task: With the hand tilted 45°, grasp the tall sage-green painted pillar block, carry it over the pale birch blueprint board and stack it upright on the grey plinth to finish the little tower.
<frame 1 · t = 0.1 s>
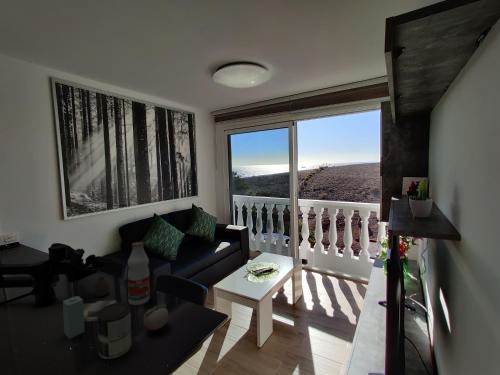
hand: (101, 267, 117), 17 cm above the table, tool horizontal, fingers open, 9 cm apart
coffee can: (115, 348, 89), on the table
pillar: (74, 332, 96), on the table
decorative fruit: (157, 330, 99), on the table
board: (94, 313, 109), on the table
vase: (101, 295, 125), on the table
fruit juice: (139, 300, 120), on the table
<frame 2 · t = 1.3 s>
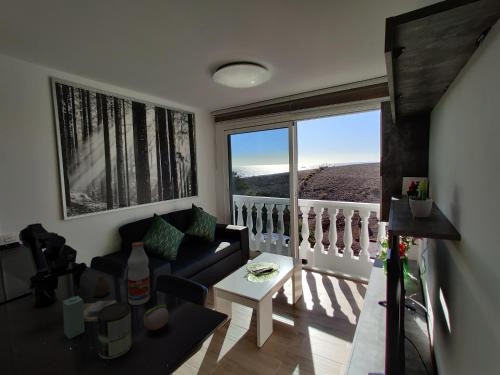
hand: (65, 293, 100), 13 cm above the table, tool tilted 45°, fingers open, 9 cm apart
nothing on the table moved.
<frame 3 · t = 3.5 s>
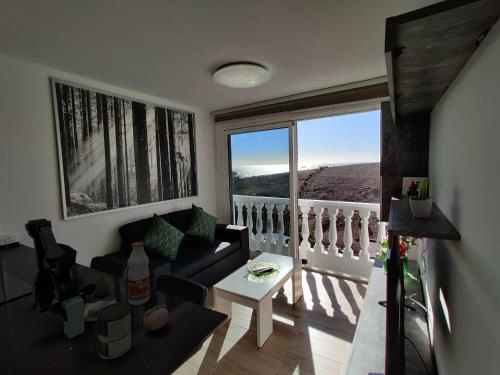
hand: (75, 317, 95), 7 cm above the table, tool tilted 45°, fingers closed on pillar, 5 cm apart
pillar: (74, 332, 96), on the table, touching gripper
everything else where it was.
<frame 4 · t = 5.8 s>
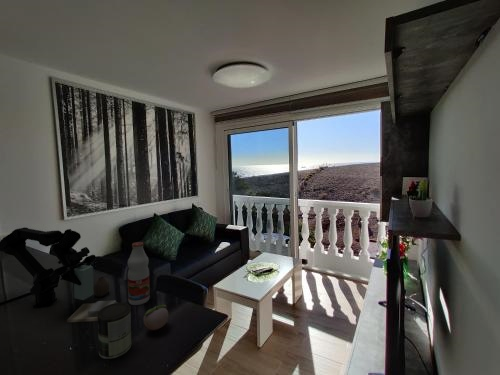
hand: (86, 282, 109), 13 cm above the table, tool tilted 45°, fingers closed on pillar, 5 cm apart
pillar: (84, 296, 110), point 7 cm above the table, touching gripper
everything else where it was.
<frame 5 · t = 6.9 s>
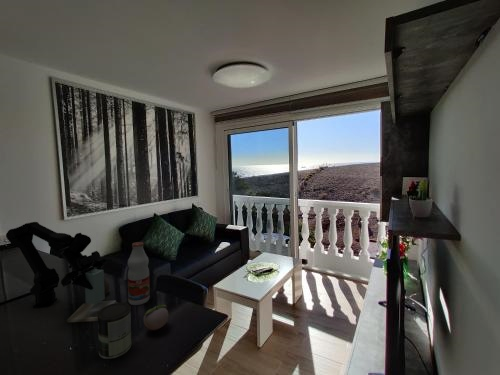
hand: (97, 286, 108), 12 cm above the table, tool tilted 45°, fingers closed on pillar, 5 cm apart
pillar: (95, 300, 109), point 5 cm above the table, touching gripper
everything else where it was.
when the fingers open (11 cm above the table, at t = 8.0 s): pillar stays where it is, resting on board.
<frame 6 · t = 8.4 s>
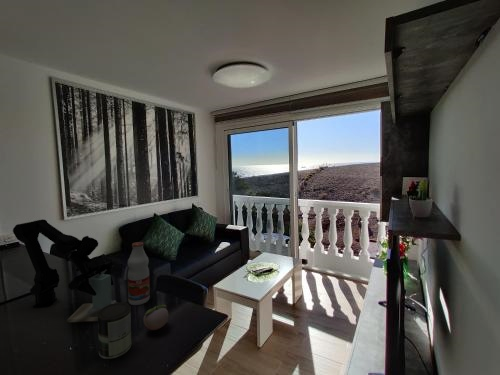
hand: (104, 289, 107), 11 cm above the table, tool tilted 45°, fingers open, 9 cm apart
pillar: (102, 305, 108), point 4 cm above the table, touching board
everything else where it was.
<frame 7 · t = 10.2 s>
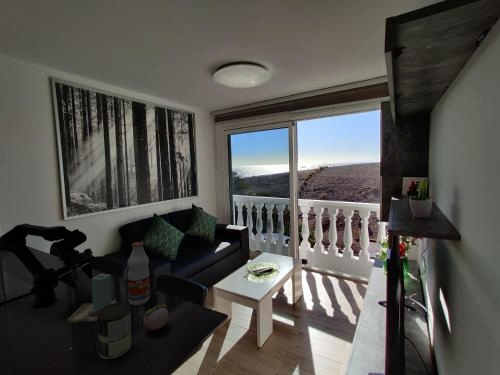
hand: (83, 283, 112), 12 cm above the table, tool tilted 30°, fingers open, 9 cm apart
nothing on the table moved.
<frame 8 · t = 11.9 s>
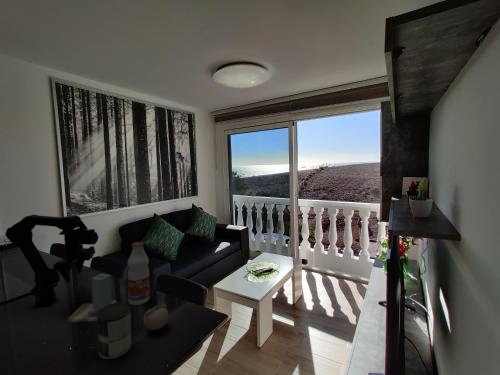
hand: (74, 277, 115), 13 cm above the table, tool pointing down, fingers open, 9 cm apart
nothing on the table moved.
at the end: pillar 0.1 cm from the target spot on the board, point 3.7 cm above the board's base; pillar tilted 0°; the gripper is holding nothing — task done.
